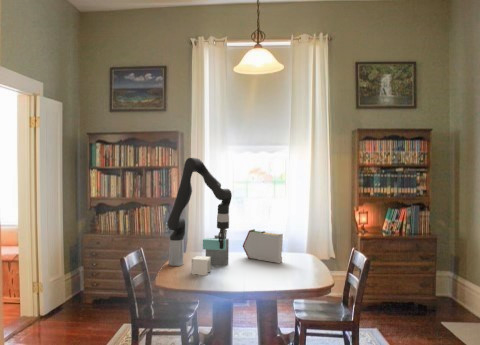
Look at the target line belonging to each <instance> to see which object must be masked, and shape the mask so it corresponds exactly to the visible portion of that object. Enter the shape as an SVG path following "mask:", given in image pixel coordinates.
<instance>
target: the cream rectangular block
mask: <svg viewBox="0 0 480 345" xmlns="http://www.w3.org/2000/svg"><path fill="white" fill-rule="evenodd" d="M208 272H210V273H211V265H210V257H206V255H203V256H202V255H201V256H200V255H195V256H194V257H192V258H191V275H195V274H198V276H208Z"/></svg>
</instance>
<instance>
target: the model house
mask: <svg viewBox="0 0 480 345" xmlns="http://www.w3.org/2000/svg"><path fill="white" fill-rule="evenodd" d="M283 240H284V239H283V233H272V232H266V231H260V230H259V231H256V229H249V231H248V232H247V235H246V237H245V239H244V241H243V244H242V248H243V250H244V252H245V254H246V257H247V259H249V260H251V259H255V260H259V261H266V262H270V263H276V264H278V263H279V264H280V262H281V263H283V256H282V253H283Z"/></svg>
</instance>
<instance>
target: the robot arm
mask: <svg viewBox="0 0 480 345" xmlns="http://www.w3.org/2000/svg"><path fill="white" fill-rule="evenodd" d="M193 173H197V174H198V175H200V176H201V177H202V179H203V181H204V184H205V185H206V186H207V187H208V188H209V189H210V190H211V192H212V193H213V195H214V197H215V198H216V200H219V201H221V203H219V204H218V205H217V215H216V228H217V229H219V232H218V235H219V243H220V249H223V242H224V239H227V233H228V230H227V229H229V228H230V204H231V202H232V197H233V196H232V191H231V189H229V188H222V183H221V182H220V181H219V180H218V179H217V178H216V177H214V176H213V174H212V173H211V172H210V171H209V169H208V168H207V166H206V165H205V164H204V162H203V161H202V160H201V159H200V158H197V157H188V158H186V160H185V162H184V166H183V171H182V174H181V175H182V176H181V179H180V182H179V183H180V184H179V187H178V190H177V192H176V197H175V200H174V204H173V208H172V209H171V213H170V215H169V216H168V219H167V227H168V229H169V230H170V231H173V232H172V233H171V234H170V236H169V251H168V266H172V267H178V266H179V267H180V266H183V265H184V238H185V234H186V220H185V218H184V216H183V215H182V213H183V211H184V209H185V208H186V207H187V205H188V204H189V203H190V200H191V197H192V193H193V187H192V175H193ZM221 239H222V240H221Z"/></svg>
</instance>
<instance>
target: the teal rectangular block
mask: <svg viewBox="0 0 480 345" xmlns="http://www.w3.org/2000/svg"><path fill="white" fill-rule="evenodd" d="M212 238H213V237H210V238H209V237H206V238H205V237H204V238H203V239H202V250H206V249H209V250H225V249H226V239H227V238H226V239H224V242H223V249H220V243H219V239H212ZM221 240H222V239H221Z"/></svg>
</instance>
